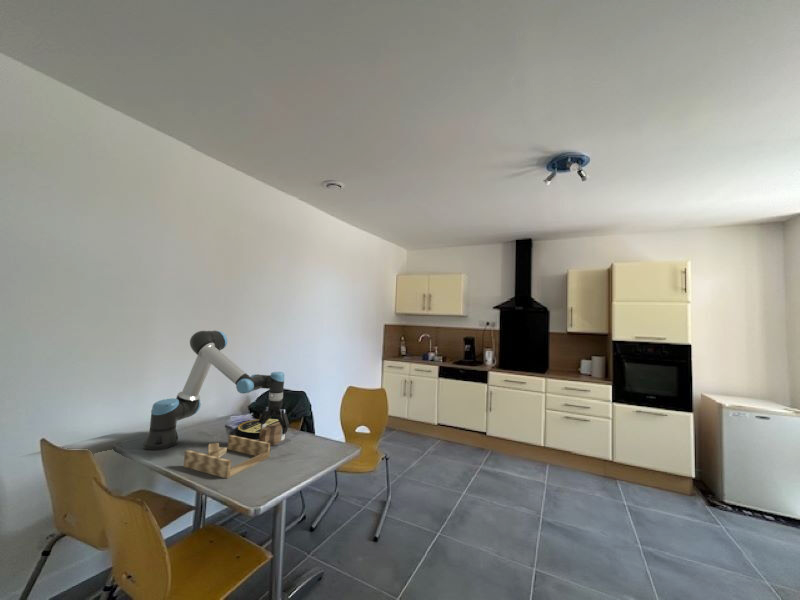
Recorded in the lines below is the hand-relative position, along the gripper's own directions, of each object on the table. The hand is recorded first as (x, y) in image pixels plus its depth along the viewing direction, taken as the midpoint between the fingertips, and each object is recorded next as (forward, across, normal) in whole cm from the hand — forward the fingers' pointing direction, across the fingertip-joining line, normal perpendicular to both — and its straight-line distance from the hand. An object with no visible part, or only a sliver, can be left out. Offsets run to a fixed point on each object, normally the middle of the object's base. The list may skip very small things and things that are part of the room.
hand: (272, 437), depth 179 cm
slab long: (+4, -12, -27) cm, 30 cm away
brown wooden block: (+3, 0, 0) cm, 3 cm away
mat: (+4, 0, 0) cm, 4 cm away
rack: (+4, -2, -27) cm, 27 cm away
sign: (+4, -21, +15) cm, 26 cm away
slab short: (+1, -12, -28) cm, 30 cm away
